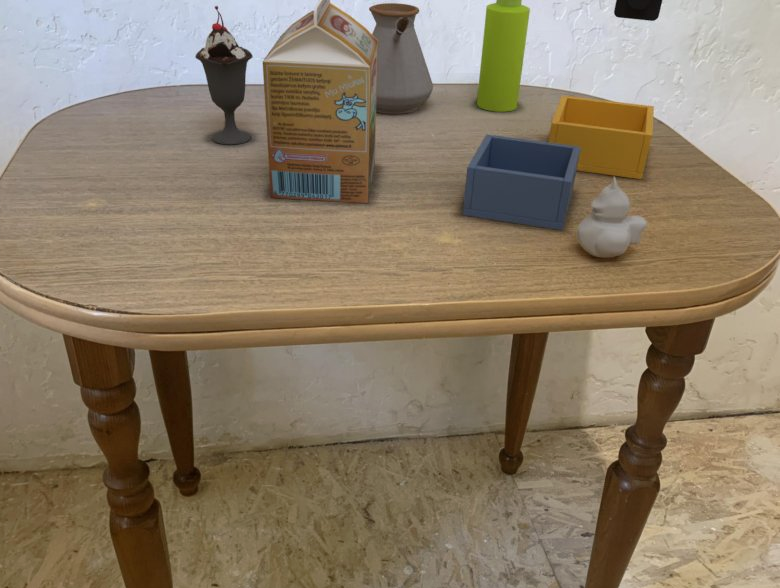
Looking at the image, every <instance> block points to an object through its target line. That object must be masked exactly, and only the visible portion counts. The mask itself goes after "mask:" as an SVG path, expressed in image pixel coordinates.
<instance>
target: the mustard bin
mask: <svg viewBox="0 0 780 588" xmlns="http://www.w3.org/2000/svg"><path fill="white" fill-rule="evenodd" d="M654 111H655V106H654V105H647V104H639V103H629V102H621V101H613V100H604V99H596V98H587V97H580V96H579V97H578V96H571V95H569V96H568V95H563V94H562V95H561V97H560V99H559V102H558V105H557V107H556V110H555V112H554V114H553V118H552V120H551V123H550V127H549V135H548V140H547V142H549V143H557V144H565V145H572V146H579V147H581V150H580V155H579V160H578V166H577V171H576V172H585V173H591V174H592V173H593V174H598V175H599V174H600V175H605V176H607V175H608V176H613V177H614V176H615V177H622V178H629V179H637V180H642V179H643V176H644V171H645V167H646V163H647V159H648V154H649V151H650V147H651V144H652V143H651V141H652V138H653V130H654Z"/></svg>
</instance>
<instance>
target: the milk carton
mask: <svg viewBox="0 0 780 588" xmlns="http://www.w3.org/2000/svg"><path fill="white" fill-rule="evenodd" d="M377 49H378V41H377V40H376V38H375V37H374V36H373V35H372V33H371V32H370V30H368V28H367V27H366V26H364V25H363V24H362V23H360V22H359V21H357V20H356V19H355V18H354V17H353V16H352V15H350V14H349V13H346V12H345V11H344V10H342V9H341V8H340V7H337V6H336V5H334V4H333V3H331V0H318V1H317V3H316V4H315V6H314V7H313V10H311V11H309V12H308V13H306V14H304V16H302V17H300V18H299V19H297V20H296V21H295V22H292V24H291V25H290V26H288V28H287V29H286V30H285V31H284V32H283V33H282V34H281V35H280V36H279V38H278V39H277V41H276V42H275V43H274V45H273V46H272V47H271V49H270V50H269V52H268V53H267V54H266V56H265V57H264V59H263V60H262V75H263V91H264V107H265V125H266V138H267V139H266V140H267V142H266V143H267V156H268V157H267V158H268V172H269V173H268V174H269V188H270V199H286V200H301V201H303V200H304V201H320V202H321V201H323V202H339V203H356V204H357V203H358V204H368V203H369V199H370V195H371V194H370V193H371V187H372V184H373V183H372V182H373V179H374V178H373V177H374V173H375V167H376V133H377V131H376V130H377V128H376V127H377V112H376V91H377Z"/></svg>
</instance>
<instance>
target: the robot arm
mask: <svg viewBox="0 0 780 588" xmlns="http://www.w3.org/2000/svg"><path fill="white" fill-rule="evenodd" d="M662 5H663V0H615V4H614V10H613V14H614V16H615V17H616V18H618V19H619V18H620V19H630V20H639V21H648V22H654V21H656V20H658V18H659V17H660V13H661V9H662Z"/></svg>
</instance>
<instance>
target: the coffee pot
mask: <svg viewBox="0 0 780 588" xmlns="http://www.w3.org/2000/svg"><path fill="white" fill-rule="evenodd" d="M368 10H369V12H370V13H371V15H372V17H373V20H374V22H375V26H374V29H373V31H372V33H371V34H372V35H373V36H374V37H375V38H376V40H377V41H378V49H377V91H376V113H379V114H381V113H382V114H389V115H401V114H403V115H404V114H408V113H413V112H415V111H417V110H418V109H419V108H420V106H421V105H424V104H425V102H427V100H428V99H429V98H430V96H431V94H432V93H433V90H434V83H433V80H432V78H431V75H430V72H429V69H428V65H427V62H426V60H425V56H424V53H423V50H422V47H421V44H420V41H419V37H418V35H417V32H416V29H415V20H416V17H417V15H418V14H419V13H420V8H419V7H417V6H415V5H411V4H407V3H397V2H391V3H390V2H387V3H386V2H385V3H378V4H374V5H372V6H370V7H368Z"/></svg>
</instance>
